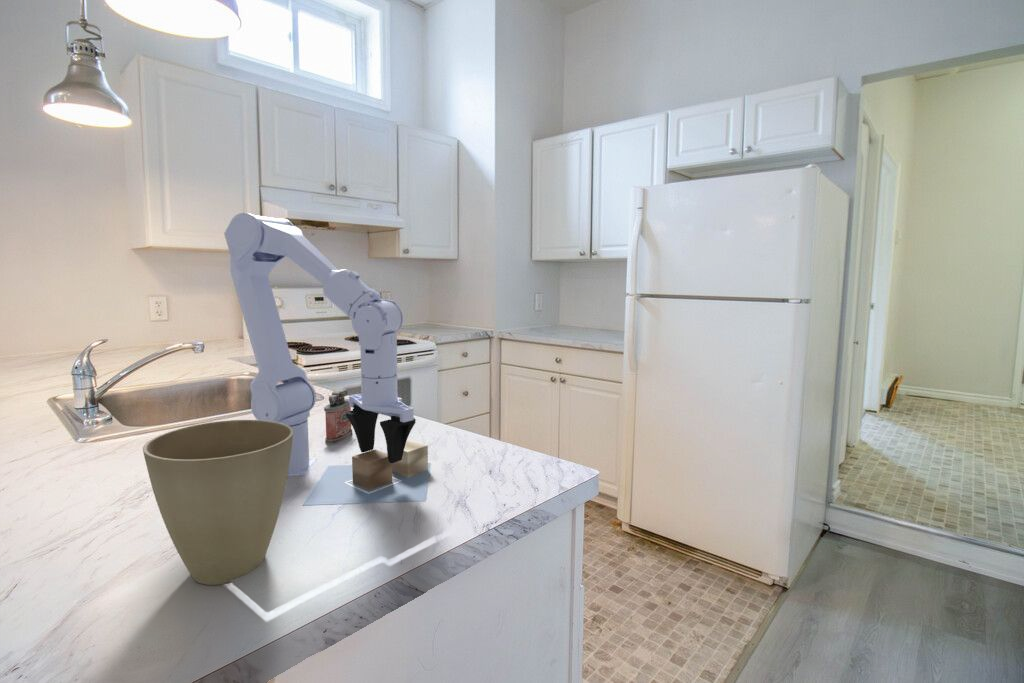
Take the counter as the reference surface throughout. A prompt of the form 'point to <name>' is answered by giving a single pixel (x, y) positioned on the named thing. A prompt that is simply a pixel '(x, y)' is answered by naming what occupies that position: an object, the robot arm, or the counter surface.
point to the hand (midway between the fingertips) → (380, 455)
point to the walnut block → (371, 469)
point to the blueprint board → (342, 490)
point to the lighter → (337, 418)
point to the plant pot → (220, 492)
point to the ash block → (412, 460)
